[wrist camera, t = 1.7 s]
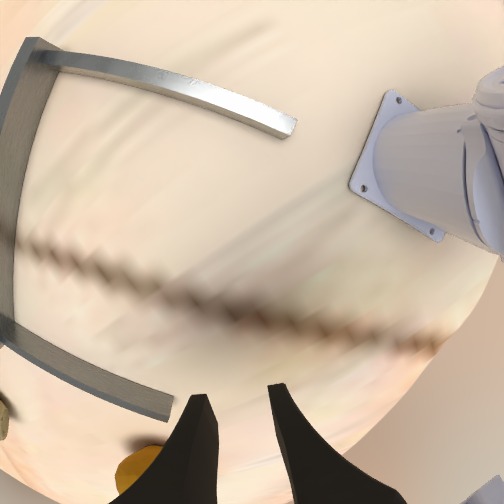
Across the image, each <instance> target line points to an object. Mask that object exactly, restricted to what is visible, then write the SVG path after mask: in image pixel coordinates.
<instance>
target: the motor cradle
mask: <svg viewBox="0 0 504 504" xmlns="http://www.w3.org/2000/svg"><path fill="white" fill-rule="evenodd" d="M59 71H60V72H66V73H72V74H78V75H84V76H89V77H94V78H99V79H104V80H108V81H113V82H117V83H121V84H125V85H129V86H133V87H137V88H141V89H145V90H148V91H152V92H155V93H159V94H162V95H165V96H169V97H172V98H175V99H178V100H181V101H184V102H188V103H191V104H193V105H196V106H199V107H202V108H205V109H208V110H211V111H213V112H216V113H219V114H221V115H224V116H227V117H229V118H232V119H234V120H237V121H239V122H242V123H244V124H247V125H249V126H252V127H254V128H256V129H259V130H261V131H264V132H266V133H268V134H270V135H273V136H275V137H277V138H279V139H284V138H286V137H288V136H290V135H291V133H292V131H293V128H294V126H295V124H296V122H297V119H295V118H293V117H291V116H289V115H287V114H284V113H282V112H280V111H278V110H276V109H273V108H271V107H269V106H266V105H264V104H262V103H259V102H257V101H254V100H252V99H250V98H247V97H245V96H242V95H239V94H237V93H234V92H232V91H229V90H226V89H223V88H221V87H218V86H215V85H212V84H209V83H206V82H203V81H200V80H197V79H194V78H190V77H187V76H184V75H181V74H177V73H174V72H170V71H166V70H163V69H159V68H155V67H151V66H147V65H143V64H138V63H134V62H129V61H124V60H119V59H114V58H108V57H103V56H96V55H90V54H82V53H74V52H65V51H63V50H61V49H60V48H58V47H56V46H54V45H53V44H51V43H49V42H47V41H45V40H44V39H42V38H40V37H26V38H25V40H24V42H23V44H22V46H21V48H20V50H19V52H18V54H17V56H16V58H15V60H14V63H13V65H12V67H11V69H10V72H9V74H8V77H7V79H6V81H5V84H4V87H3V89H2V92H1V95H0V349H1V348H2V347H3V345H6V346H7V347H9V348H10V349H12V350H13V351H14V352H16V353H17V354H19V355H21V356H22V357H24V358H25V359H27V360H28V361H30V362H32V363H33V364H35V365H37V366H38V367H40V368H42V369H43V370H45V371H47V372H49V373H50V374H52V375H54V376H56V377H58V378H60V379H61V380H63V381H65V382H67V383H69V384H71V385H73V386H75V387H77V388H79V389H81V390H83V391H85V392H88V393H90V394H92V395H94V396H96V397H99V398H101V399H103V400H106V401H108V402H110V403H113V404H115V405H118V406H120V407H123V408H125V409H128V410H131V411H133V412H136V413H139V414H142V415H145V416H148V417H151V418H154V419H157V420H160V421H163V422H166V423H167V422H168V420H169V417H170V413H171V407H172V402H173V396H171V395H168V394H165V393H162V392H159V391H156V390H153V389H150V388H148V387H145V386H142V385H139V384H137V383H134V382H132V381H129V380H126V379H124V378H122V377H119V376H117V375H114V374H112V373H110V372H107V371H105V370H103V369H100V368H98V367H96V366H94V365H92V364H89V363H87V362H85V361H83V360H81V359H79V358H77V357H75V356H73V355H71V354H69V353H67V352H65V351H63V350H61V349H60V348H58V347H56V346H54V345H52V344H50V343H49V342H47V341H45V340H43V339H42V338H40V337H38V336H36V335H35V334H33V333H31V332H30V331H28V330H27V329H25V328H23V327H22V326H20V325H19V324H17V323H15V322H14V310H13V257H14V242H15V231H16V222H17V215H18V208H19V201H20V195H21V190H22V184H23V180H24V175H25V170H26V166H27V162H28V158H29V154H30V150H31V146H32V143H33V139H34V136H35V133H36V130H37V127H38V123H39V120H40V118H41V115H42V112H43V109H44V106H45V104H46V101H47V98H48V96H49V93H50V91H51V89H52V86H53V84H54V81H55V79H56V77H57V75H58V73H59Z"/></svg>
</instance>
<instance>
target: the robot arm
mask: <svg viewBox="0 0 504 504" xmlns="http://www.w3.org/2000/svg"><path fill="white" fill-rule="evenodd" d="M396 98H397V99H398V100H399V104H398V103H397V101H396ZM362 185H364V186H365V190H364V192H362V191H361V186H362ZM349 188H350V189H351V191H353V192H354V193H356V194H358V195H360V196H362V197H363V198H365V199H367V200H369V201H370V202H372V203H374V204H376V205H377V206H379V207H381V208H382V209H384V210H386V211H388V212H389V213H391V214H393V215H394V216H396V217H397V218H399V219H401V220H402V221H404V222H406V223H407V224H409V225H410V226H412V227H413V228H415V229H417V230H418V231H420V232H421V233H423V234H424V235H426V236H427V237H429V238H430V239H432V240H433V241H435V242H437V243H439V242H441V241H442V239H443V237H444V235H445V233H448V234H450V235H453V236H455V237H457V238H459V239H462V240H464V241H466V242H469V243H471V244H473V245H475V246H477V247H480V248H482V249H484V250H486V251H488V252H490V253H493V254H497V255H500V257H501V261H502V262H504V66H502V67H500V68H498V69H496V70H494V71H492V72H491V73H489V74H488V75H486V76H485V77H484V78H482V79H481V80H480V82H479V83H478V85H477V89H476V93H475V94H474V96H473V99H472V103H468V104H460V105H453V106H446V107H440V108H434V109H428V110H423V111H421V110H419V109H418V108H417V107H416V106H414V105H413V104H412V103H411V102H409V101H408V100H407V99H405V98H404V97H403V96H401V95H400V94H398V93H397V92H396V91H394V90H389V91H387V92H386V93H385V96H384V98H383V101H382V104H381V106H380V109H379V112H378V114H377V117H376V119H375V122H374V124H373V127H372V129H371V132H370V134H369V137H368V139H367V142H366V144H365V147H364V149H363V152H362V154H361V156H360V159H359V161H358V163H357V166H356V168H355V170H354V173H353V175H352V177H351V180H350V182H349ZM431 229H432V231H431V233H430V230H431ZM268 392H269V398H270V403H271V409H272V415H273V420H274V426H275V431H276V437H277V440H278V443H279V447H280V450H281V453H282V457H283V460H284V463H285V467H286V470H287V473H288V476H289V480H290V484H291V488H292V494H293V499H294V504H407V503H406V501H405V500H404V499H403V497H402V496H401V495H400V494H399V492H397V490H395V489H393V488H391V487H389V486H387V485H385V484H383V483H381V482H379V481H378V480H376V479H374V478H372V477H371V476H369V475H367V474H366V473H364V472H363V471H361V470H360V469H358V468H357V467H356V466H354V465H353V464H352V463H350V462H349V461H347V460H346V459H345V458H344V457H342V456H341V455H340V454H339V453H338V452H337V451H335V450H334V449H333V448H332V447H331V446H330V445H329V444H328V443H327V442H326V441H325V440H324V439H323V438H322V437H321V436H320V435H319V434H318V432H317V431H316V430H315V429H314V428H313V427H312V426H311V424H310V423H309V422H308V421H307V419H306V418H305V417H304V415H303V414H302V413H301V411H300V410H299V408H298V407H297V405H296V404H295V402H294V400H293V399H292V397H291V395H290V393H289V391H288V389H287V387H286V384H284V383H280V384H274V385H268ZM218 453H219V434H218V422H217V420H216V417H215V415H214V412H213V410H212V407H211V405H210V402H209V400H208V397H207V394H197V395H191V396H190V398H189V400H188V403H187V405H186V407H185V409H184V411H183V413H182V415H181V417H180V419H179V421H178V423H177V425H176V426H175V428H174V430H173V432H172V434H171V435H170V437H169V439H168V440H167V442H166V443H165V445H164V446H163V448H162V449H161V451H160V452H159V454H158V455H157V457H156V458H155V459H154V461H153V462H152V463H151V464H150V466H149V467H148V468H147V469H146V470H145V471H144V472H143V474H142V475H141V476H140V477H139V478H138V479H137V480H136V481H135V482H134V483H133V484H132V485H131V486H130V487H129V488H127V489H126V490H125V491H124V492H123V493H122V494H120V495H119V496H118V497H117V498H116V499H114V500H113V501H112V502H110V503H109V504H217V469H218ZM460 504H504V482H503V481H502V479H501V477H500V476H499V475H496V476H495V477H494V478H492V479H491V480H490V481H489V482H487V483H486V484H485V485H483V486H482V487H481V488H480V489H478V490H477V491H475V492H474V493H473V494H472V495H471V496H469V498H467V500H465V501H464V502H462V503H460Z"/></svg>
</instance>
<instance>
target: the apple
mask: <svg viewBox="0 0 504 504" xmlns="http://www.w3.org/2000/svg"><path fill="white" fill-rule="evenodd" d="M162 448H163V446H158V445H151V446H147V447H145V448H142V449H141V450H139V451H137V452H135V453H134V454H132V455H130V456H128V457H127V458H125V459H124V460H123V461H122V462H121V463H120V464H119V466H118V468H117V471H116V474H115V480H116V487H117V490H118V492H119V494H122V493H123V492H124V491H125V490H126V489H127V488H129V487H130V486H131V485H132V484H133V483H134V482H135V481H136V480H137V479H138V478H139V477H140V476H141V475H142V474H143V472H144V471H145V470H146V469H147V468H148V467H149V466H150V464H151V463H152V462H153V461H154V459H155V458H156V457H157V455H158V454H159V452H160V451H161V449H162Z"/></svg>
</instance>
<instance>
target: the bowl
mask: <svg viewBox="0 0 504 504" xmlns="http://www.w3.org/2000/svg"><path fill="white" fill-rule="evenodd" d="M8 426H9V414H8V409H7V407H6V406H5V405H4V404H3V402H2V401H1V400H0V440H4V439H5V438H6V436H7V433H8Z"/></svg>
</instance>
